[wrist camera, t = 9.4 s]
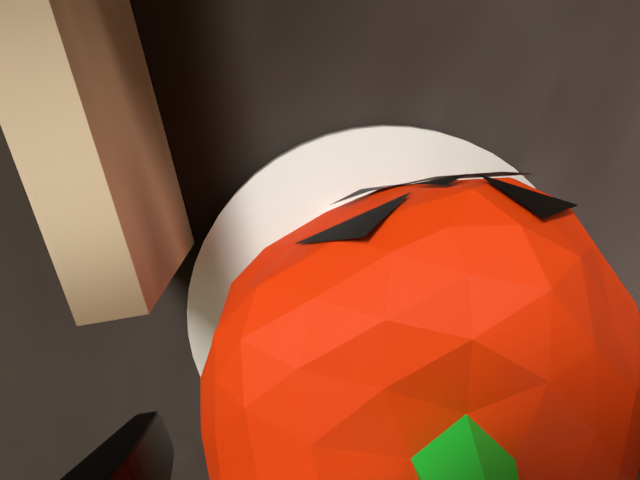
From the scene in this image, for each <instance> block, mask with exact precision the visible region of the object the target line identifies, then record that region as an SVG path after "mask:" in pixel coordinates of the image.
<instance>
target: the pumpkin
mask: <svg viewBox="0 0 640 480" xmlns="http://www.w3.org/2000/svg"><path fill="white" fill-rule="evenodd" d="M514 175H531V173H516V172H490V173H476V174H463V175H449V176H436V177H431V178H427V179H422V180H418V181H413V182H409V183H404V184H396V185H389V186H381V187H373V188H365V189H360V190H358V191H356V192H354V193H352V194H350V195H348V196H346V197H344V198H342V199H340V200H338V201H336V202H334V203H337V202H340V201H343V200H346V199H349V198H351V197H354V196H357V195H360V194H363V193H366V192H369V191H374V190H376V191H374V192H371V193H369V194H367V195H364V196H362V197H360V198H357V199H355V200H353V201H350V202H348V203H346V204H343V205H341V206H339V207H336V208H334V209H331V210H329V211H327V212H325V213H323V214H321V215H320V216H318V217H316V218H315V219H313V220H311V221H310V222H308V223H306V224H305V225H303V226H301V227H299V228H298V229H296V230H294V231H293V232H291V233H289V234H288V235H286V236H284V237H283V238H281V239H279V240H277V241H276V242H274V243H272V244H271V245H269V246H267V247H266V248H264V249H263V250H262V251H261V252H260V253H259V255H258V256H257V257H256V258H255V259H254V260H253V261H252V262H251V263H250V264H249V265H248V266H247V267H246V268H245V269H244V270H243V271H242V272H241V274H240V275H239V276H238V277H237V278H236V279H235V280H234V281H233V282H232V283H231V286H230V289H229V293H228V296H227V299H226V302H225V305H224V308H223V311H222V314H221V317H220V320H219V323H218V326H217V328H216V330H215V332H214V335H213V340H212V344H211V348H210V351H209V354H208V357H207V360H206V363H205V366H204V369H203V372H202V375H201V378H200V381H201V434H202V440H203V446H204V451H205V457H206V462H207V468H208V473H209V479H210V480H636V479H637V475H638V471H639V467H640V316H639V312H638V308H637V304H636V303H635V301H634V300H633V298H632V297H631V295H630V294H629V293H628V291H627V290H626V288H625V287H624V285H623V284H622V282H621V281H620V280H619V278H618V277H617V275H616V274H615V272H614V271H613V269H612V268H611V267H610V265H609V264H608V262H607V261H606V259H605V258H604V256H603V255H602V253H601V252H600V251H599V249H598V248H597V246H596V245H595V243H594V242H593V240H592V239H591V237H590V236H589V234H588V233H587V232H586V230H585V229H584V227H583V226H582V224H581V223H580V221H579V220H578V218H577V217H576V215H575V214H574V212H573V211H572V210H571V208H572V207H575V206H577V205H576V204H573V203H570V202H567V201H564V200H560V199H557V198H554V197H552V196H550V195H548V194H546V193H543V192H541V191H539V190H537V189H535V188H533V187H531V186H529V185H527V184H524V183H522V182H520V181H518V180H516V179H513V178H510V177H504V178H491V177H498V176H514ZM481 177H482V178H484V179H465V180H457V179H463V178H481ZM429 180H430V181H429ZM422 181H425V182H422ZM417 182H419V183H417ZM412 183H414V184H412ZM334 203H332V204H334ZM330 205H331V204H330Z"/></svg>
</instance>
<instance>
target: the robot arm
mask: <svg viewBox="0 0 640 480" xmlns="http://www.w3.org/2000/svg"><path fill="white" fill-rule="evenodd" d="M173 458H174V452H173V446H172V442H171V439H170V436H169V433H168V430H167V427H166V424H165V422H164V419H163V416H162V415H161V413H159V412H157V411H154V412H148V413H141V414H138V415H136V416H134V417H133V418H132V419H131V420H130V421H128V422H127V423H126V424H125V425H124V426H122V427H121V428H120V429H119V430H118V431H117V432H115V433H114V434H113V435H112V436H111V437H110V438H108V439H107V440H106V441H105V442H104V443H102V444H101V445H100V446H99V447H98V448H97V449H95V450H94V451H93V452H92V453H91V454H90V455H88V456H87V457H86V458H85V459H84V460H82V461H81V462H80V463H79V464H78V465H77V466H75V467H74V468H73V469H72V470H71V471H70V472H68V473H67V474H66V475H65V476H64V477H62V478H61V479H60V480H170V479H171V472H172V466H173Z"/></svg>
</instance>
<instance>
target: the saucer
mask: <svg viewBox="0 0 640 480" xmlns="http://www.w3.org/2000/svg"><path fill="white" fill-rule="evenodd" d="M490 172H516V173H519V172H518V171H517V170H516V169H515V168H513V167H512V166H510V165H509V164H507V163H506V162H504V161H503V160H501V159H500V158H499V157H497V156H496V155H494V154H493V153H490V152H488V151H486V150H484V149H482V148H480V147H478V146H476V145H474V144H472V143H470V142H467V141H465V140H462V139H460V138H457V137H454V136H451V135H448V134H445V133H441V132H438V131H435V130H432V129H426V128H420V127H414V126H408V125H388V124H376V125H367V126H357V127H350V128H346V129H342V130H338V131H334V132H329V133H325V134H323V135H320V136H318V137H315V138H313V139H310V140H307V141H305V142H302V143H300V144H298V145H296V146H294V147H293V148H291V149H289V150H287V151H285V152H284V153H282V154H280V155H278V156H277V157H275V158H274V159H272V160H271V161H270V162H268V163H267V164H266V165H264V166H263V167H262V168H260V169H259V170H258V171H256V172H255V173H254V174H253V175H252V176H251V177H250V178H249V179H248V180H247V181H246V182H245V183H244V184H243V185H242V186H241V187H240V188H239V189H238V190H237V191H236V192H235V194H234V195H233V196H232V197H231V199H230V200H229V201H228V203H227V204H226V205H225V206H224V208H223V209H222V211H221V212H220V214H219V216H218V217H217V219H216V221H215V222H214V224H213V226H212V228H211V229H210V231H209V233H208V235H207V236H206V238H205V240H204V242H203V244H202V247H201V249H200V252H199V254H198V257H197V259H196V262H195V264H194V268H193V273H192V277H191V281H190V285H189V291H188V303H187V323H188V336H189V341H190V345H191V350H192V354H193V358H194V361H195V363H196V366H197V369H198V371H199V374H200V377H201V375H202V372H203V369H204V366H205V363H206V360H207V357H208V354H209V351H210V348H211V344H212V340H213V335H214V332H215V330H216V328H217V326H218V323H219V320H220V317H221V314H222V311H223V308H224V305H225V302H226V299H227V296H228V293H229V289H230V286H231V283H232V282H233V281H234V280H235V279H236V278H237V277H238V276H239V275H240V274H241V272H242V271H243V270H244V269H245V268H246V267H247V266H248V265H249V264H250V263H251V262H252V261H253V260H254V259H255V258H256V257H257V256H258V255H259V253H260V252H261V251H262V250H263V249H264V248H266V247H267V246H269V245H271V244H272V243H274V242H276V241H277V240H279V239H281V238H283V237H284V236H286V235H288V234H289V233H291V232H293V231H294V230H296V229H298V228H299V227H301V226H303V225H305V224H306V223H308V222H310V221H311V220H313V219H315V218H316V217H318V216H320V215H321V214H323V213H325V212H327V211H329V210H331V209H334V208H336V207H339V206H341V205H343V204H346V203H348V202H350V201H353V200H355V199H357V198H360V197H362V196H364V195H367V194H369V193H371V192H374V191H376V190H374V191H369V192H366V193H363V194H360V195H357V196H354V197H351V198H349V199H346V200H343V201H340V202H337V203H334V202H336V201H338V200H340V199H342V198H344V197H346V196H348V195H350V194H352V193H354V192H356V191H358V190H360V189H365V188H373V187H381V186H389V185H396V184H404V183H409V182H413V181H418V180H422V179H427V178H431V177H436V176H449V175H463V174H476V173H490ZM504 177H510V178H513V179H516V180H518V181H520V182H522V183H524V184H527V185H529V186H531V187H533V188H535V187H534V186H533V185H532V184H531V183H530V182H529V181H528V180H527V179H525V178H524V177H523V176H522V175H514V176H498V177H491V178H504ZM465 179H484V178H482V177H481V178H463V179H457V180H465ZM429 181H430V180H429ZM422 182H425V181H422ZM417 183H419V182H417ZM412 184H414V183H412ZM332 203H334V204H332ZM330 204H331V205H330Z"/></svg>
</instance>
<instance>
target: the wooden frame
mask: <svg viewBox="0 0 640 480" xmlns="http://www.w3.org/2000/svg"><path fill="white" fill-rule="evenodd" d="M0 125H1V127H2V130H3V133H4V135H5V138H6V140H7V143H8V146H9V148H10V151H11V154H12V156H13V159H14V162H15V164H16V167H17V169H18V172H19V175H20V177H21V180H22V183H23V185H24V188H25V191H26V193H27V196H28V198H29V201H30V204H31V206H32V209H33V212H34V214H35V217H36V219H37V222H38V225H39V227H40V230H41V233H42V235H43V238H44V241H45V243H46V246H47V248H48V251H49V254H50V256H51V259H52V262H53V264H54V267H55V269H56V272H57V275H58V277H59V280H60V283H61V285H62V288H63V291H64V293H65V296H66V298H67V301H68V304H69V306H70V309H71V312H72V314H73V317H74V320H75V322H76V325H77V326H80V325H86V324H92V323H98V322H104V321H110V320H116V319H122V318H128V317H134V316H140V315H146V314H149V313H150V312H151V310H152V309H153V307H154V305H155V304H156V302H157V301H158V299H159V298H160V296H161V295H162V293H163V291H164V290H165V288H166V287H167V285H168V284H169V282H170V280H171V279H172V277H173V276H174V274H175V273H176V271H177V270H178V268H179V266H180V265H181V263H182V262H183V260H184V259H185V257H186V256H187V254H188V252H189V251H190V249H191V248H192V246H193V245H194V239H193V235H192V231H191V228H190V224H189V220H188V216H187V213H186V209H185V205H184V202H183V198H182V194H181V190H180V187H179V183H178V179H177V175H176V172H175V168H174V164H173V161H172V157H171V153H170V149H169V146H168V142H167V138H166V134H165V131H164V127H163V123H162V120H161V116H160V112H159V108H158V105H157V101H156V97H155V94H154V90H153V86H152V82H151V79H150V75H149V71H148V67H147V64H146V60H145V56H144V53H143V49H142V45H141V41H140V38H139V34H138V30H137V26H136V23H135V19H134V15H133V12H132V8H131V4H130V0H0Z"/></svg>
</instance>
